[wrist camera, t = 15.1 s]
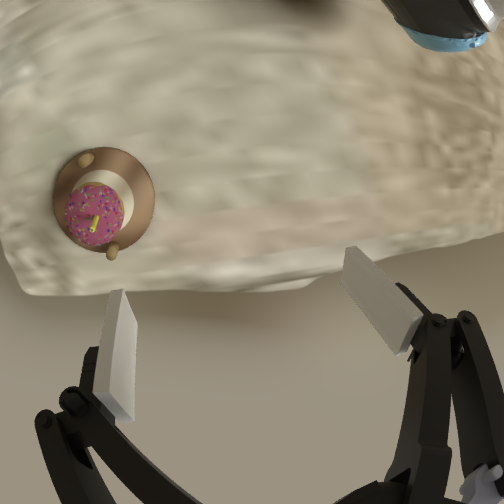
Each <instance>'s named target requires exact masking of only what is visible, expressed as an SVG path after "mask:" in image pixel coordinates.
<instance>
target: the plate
mask: <svg viewBox="0 0 504 504" xmlns="http://www.w3.org/2000/svg"><path fill="white" fill-rule="evenodd" d="M87 182H101V183H103V184H105V185H107V186H109V187H111V188H112V189H114V190H115V191H116V193H117V194H118V196H119V197H120V198H121V200H122V201H123V205H124V212H125V215H124V220H123V224H122V227H121V229H120V230H119V232H118V233H117V234H116V235H115V236H114V238H113V239H112V240H111V241H110V242H109V243H108V242H107V243H104V244H101V245H100V246H99V245H96V246H95V245H87V244H85V243H83V242H81V241H79V240H77V238H76V237H75V236H74V235H73V234H71V233H70V230H69V228H68V227H67V225H66V220H65V205H66V202H67V200H68V198H69V197H70V194H71V193H72V192H73V191H74V190H75V189H77V188H78V187H79V186H81V185H82V184H84V183H87ZM154 204H155V194H154V187H153V184H152V181H151V178H150V176H149V174H148V172H147V171H146V169H145V168H144V166H143V165H142V164H141V163H140V162H139V161H138V160H137V159H136V158H135V157H133V156H132V155H130V154H129V153H127V152H125V151H122V150H120V149H116V148H111V147H99V148H94V149H90V150H88V151H85V152H83V153H81V154H80V155H78V156H76V157H75V158H74V159H72V160H71V161H70V162H69V163H68V164H67V165H66V166H65V167H64V169H63V170H62V172H61V173H60V175H59V177H58V179H57V182H56V185H55V189H54V210H55V214H56V217H57V220H58V222H59V224H60V226H61V228H62V229H63V231H64V232H65V233H66V235H67V236H68V237H69V238H70V239H71V240H72V241H74V242H75V243H76V244H78V245H79V246H81V247H83V248H85V249H88V250H90V251H94V252H101V253H106V257H107V259H108V260H115V259H116V256H117V253H118V251H120V250H123V249H125V248H127V247H129V246H131V245H132V244H134V243H135V242H136V241H137V240H139V239H140V237H141V236H142V235H143V234H144V233H145V231H146V230H147V228H148V226H149V224H150V222H151V219H152V215H153V211H154Z"/></svg>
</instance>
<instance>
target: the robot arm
mask: <svg viewBox="0 0 504 504" xmlns="http://www.w3.org/2000/svg"><path fill="white" fill-rule="evenodd" d="M381 1H382V2H383V3H384V5H385V6H386V7H387V8H388V10H389V11H390V12H391V13H392V15H393V16H394V19H395V20H396V22H397V23H398V24H399V25H400V26H401V27H403V29H404V30H405V31H406V33H407V34H408V35H409V37H410V38H411V39H412V40H413V41H414V42H415V43H417V44H418V45H420V46H421V47H423V48H426V49H429V50H433V51H438V52H461V51H467V50H469V47H472V48H477V47H479V46H481V45H482V44H483V43H484V42H485V41H486V38H487V32H494V31H495V30H496V28H497V25H498V23H499V21H500V20H501V19H504V0H381ZM341 285H342V286H343V287H344V288H345V290H346V291H347V292H348V294H349V295H350V296H351V298H352V299H353V300H354V301H355V303H356V304H357V305H358V307H359V308H360V309H361V310H362V312H363V313H364V314H365V316H366V317H367V318H368V319H369V321H370V322H371V323H372V325H373V326H374V327H375V329H376V330H377V331H378V333H379V334H380V335H381V337H382V338H383V339H384V341H385V342H386V343H387V345H388V346H389V347H390V349H391V350H392V351H393V353H394V354H395V356H398V355H400V354H402V353H404V352H406V351H407V350H408V348H409V346H410V344H411V345H412V347H413V350H412V352H411V354H410V356H409V358H408V360H407V361H408V362H409V361H410V359H411V366H410V375H409V384H408V391H407V397H406V404H405V410H404V415H403V421H402V425H401V430H400V435H399V439H398V444H397V448H396V452H395V457H394V460H393V463H392V465H391V466H390V468H389V470H388V472H387V474H386V476H385V479H384V482H377V480H376V481H374V482H372V483H370V484H368V485H366V486H363V487H361V488H359V489H357V490H355V491H353V492H351V493H350V494H348V495H346V496H344V497H343V498H341V499H339V500H338V501H336V502H335V503H333V504H497V503H499V501H501V500H502V499H504V393H503V389H502V386H501V382H500V379H499V376H498V373H497V370H496V367H495V364H494V361H493V358H492V356H491V353H490V350H489V347H488V345H487V342H486V340H485V337H484V335H483V332H482V330H481V327H480V325H479V323H478V321H477V318H476V317H475V315H474V314H472V313H471V312H469V311H465V310H464V311H461V312H459V314H458V316H457V318H452V319H446V317H444V316H443V315H440V314H432V313H431V312H430V311H429V310H428V309H427V308H426V307H425V306H424V305H423V304H422V303H421V302H420V300H419V299H418V298H416V297H415V295H414V294H412V292H411V291H410V290H409V289H408V288H407V287H406V286H404V285H402V284H400V283H395V284H394V283H393V282H392V281H391V279H389V277H387V275H385V273H384V272H383V271H382V270H380V268H379V267H378V266H376V265H375V264H374V263H373V262H372V261H371V260H370V259H369V258H368V257H367V256H366V255H365V254H364V253H363V252H362V251H361V250H360V249H359V248H358V247H357V246H353V247H348V248H346V250H345V258H344V265H343V271H342V278H341ZM137 327H138V324H137V321H136V319H135V317H134V314H133V312H132V310H131V307H130V305H129V302H128V300H127V297H126V295H125V292H124V290H123V289H119V290H113V291H111V292H110V297H109V301H108V305H107V310H106V315H105V319H104V324H103V329H102V334H101V339H100V345H99V346H96V347H89V349H88V351H87V352H86V354H85V356H84V361H83V367H82V373H81V378H80V384H79V387H76V386H72V387H68V388H66V389H65V390H64V391H63V392H62V393H61V395H60V397H59V404H60V407H61V408H62V409H63V410H64V411H63V412H60V413H57V414H54V413H53V412H52V411H51V410H47V409H45V410H42V411H40V412H39V413H38V414H37V416H36V418H35V429H36V433H37V436H38V440H39V444H40V447H41V450H42V454H43V457H44V460H45V463H46V466H47V469H48V471H49V474H50V477H51V479H52V482H53V484H54V487H55V490H56V492H57V494H58V497H59V499H60V501H61V503H62V504H116V503H115V501H114V499H113V497H112V495H111V494H110V492H109V490H108V488H107V486H106V485H105V483H104V481H103V479H102V477H101V475H100V473H99V471H98V469H97V467H96V466H95V463H94V461H93V459H92V457H91V455H90V452H89V450H88V448H87V447H90V446H92V447H93V448H94V450H95V451H96V452H97V454H98V455H99V456H100V457H101V459H102V460H103V461H104V462H105V463H106V464H107V466H108V467H109V468H110V469H111V470H112V471H113V472H114V474H115V475H116V476H117V477H118V478H119V479H120V480H121V481H122V482H123V483H124V484H125V486H126V487H127V488H128V489H129V490H130V491H131V492H132V493H133V494H134V495H135V496H136V497H138V499H139V500H141V501H142V502H143V503H144V504H202V503H201V502H199V501H198V500H196V499H195V498H194V497H193V496H191V495H190V494H188V493H187V492H186V491H185V490H184V489H182V488H181V487H180V486H178V485H177V484H176V483H175V482H174V481H172V480H171V479H170V478H169V477H168V476H167V475H165V474H164V473H163V472H162V471H161V470H160V469H159V468H157V467H156V466H155V465H154V464H153V463H152V462H151V461H150V460H149V459H148V458H147V457H146V456H144V455H143V454H142V453H141V452H140V451H139V450H138V449H137V448H136V447H135V446H134V445H133V444H132V443H131V442H130V441H129V440H128V438H127V437H126V436H125V435H124V434H123V433H122V432H121V431H120V430H119V429H118V428H117V427H116V426H115V418H116V419H117V420H118V421H119V422H120V423H125V422H135V412H134V411H135V410H134V409H135V406H134V404H135V401H134V400H135V399H134V398H135V397H134V396H135V359H136V341H137ZM463 348H464V350H463ZM451 394H452V399H453V405H454V410H455V416H456V423H457V429H458V437H459V446H460V457H461V465H462V471H463V475H464V478H465V481H464V483H463V485H461V487H460V490H459V492H460V494H461V495H463V498H462V501H461V502H460V501H455V500H452V499H448V498H444V494H445V490H446V486H447V481H448V476H449V470H450V465H451V458H452V449H451V448H450V447H448V445H447V440H448V431H449V419H450V407H451Z"/></svg>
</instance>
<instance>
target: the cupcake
mask: <svg viewBox="0 0 504 504" xmlns="http://www.w3.org/2000/svg"><path fill="white" fill-rule="evenodd" d="M124 215H125V212H124V205H123V201H122V200H121V198H120V197H119V196H118V194H117V193H116V191H115V190H114V189H112V188H111V187H109V186H107V185H105V184H103V183H101V182H87V183H84V184H82V185H81V186H79V187H78V188H77V189H75V190H74V191H73V192H72V193H71V194H70V197H69V198H68V200H67V202H66V205H65V220H66V225H67V227H68V228H69V230H70V233H71V234H73V235H74V236H75V237H76V238H77V240H79V241H81V242H83V243H85V244H87V245H95V246H96V245H99V246H100V245H101V244H104V243H107V242H108V243H109V242H110V241H111V240H112V239H113V238H114V236H115V235H116V234H117V233H118V232H119V230H120V229H121V227H122V224H123V220H124Z"/></svg>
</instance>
